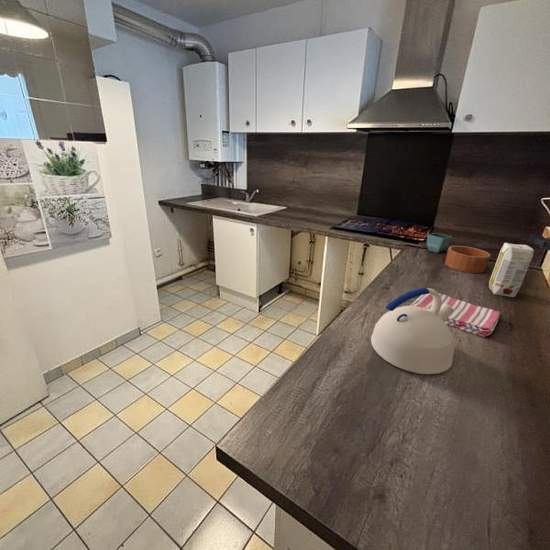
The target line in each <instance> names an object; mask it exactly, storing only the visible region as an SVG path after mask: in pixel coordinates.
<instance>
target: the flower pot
mask: <svg viewBox="0 0 550 550" xmlns="http://www.w3.org/2000/svg"><path fill="white" fill-rule="evenodd" d="M451 240H452V236H451V235H448V234H443V233H440V232H433V233H428V234H427V237H426V247H427V249H428V251H429V252H433V253H437V254H439V253H442V252H443V251H445V250H446V248H447V247H448V246H449V244H450V242H451Z"/></svg>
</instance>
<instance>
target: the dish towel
mask: <svg viewBox="0 0 550 550" xmlns="http://www.w3.org/2000/svg"><path fill="white" fill-rule="evenodd" d="M438 293H439V292H438ZM439 295H440V297H441V299H442V305H443V303H447V304H448V305H450V306H451V307H452V308H453V310H454V313H451V314H450V315H449V316H448V317H447V318H446V319H445V320H444V322H445V323H446V325H447V326H448V325H449V326H450V327H454V328H457V329H460V330H462V331H464V332H467V333H470V334H472V335H475V336H480V337H482V338H485V337H488V336H490V335H491V334H493V331H494V330H495V328H496V326H497V324H498V321H499V319H500V315H501V313H502V311H499V310H494V309H491V308H488V307H483V306H480V305H476V304H472V303H470V302H467V301H463V300H460V299H457V298H454V297H451V296H449V295H446V294H443V293H439ZM432 303H433V296H432V294H424V295H420V296H418V298H416V299H415V300H414V301H413V302H412V303H411V304H410V305H409V306H417V307H421V308H425V309H430V308H431V306H432Z"/></svg>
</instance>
